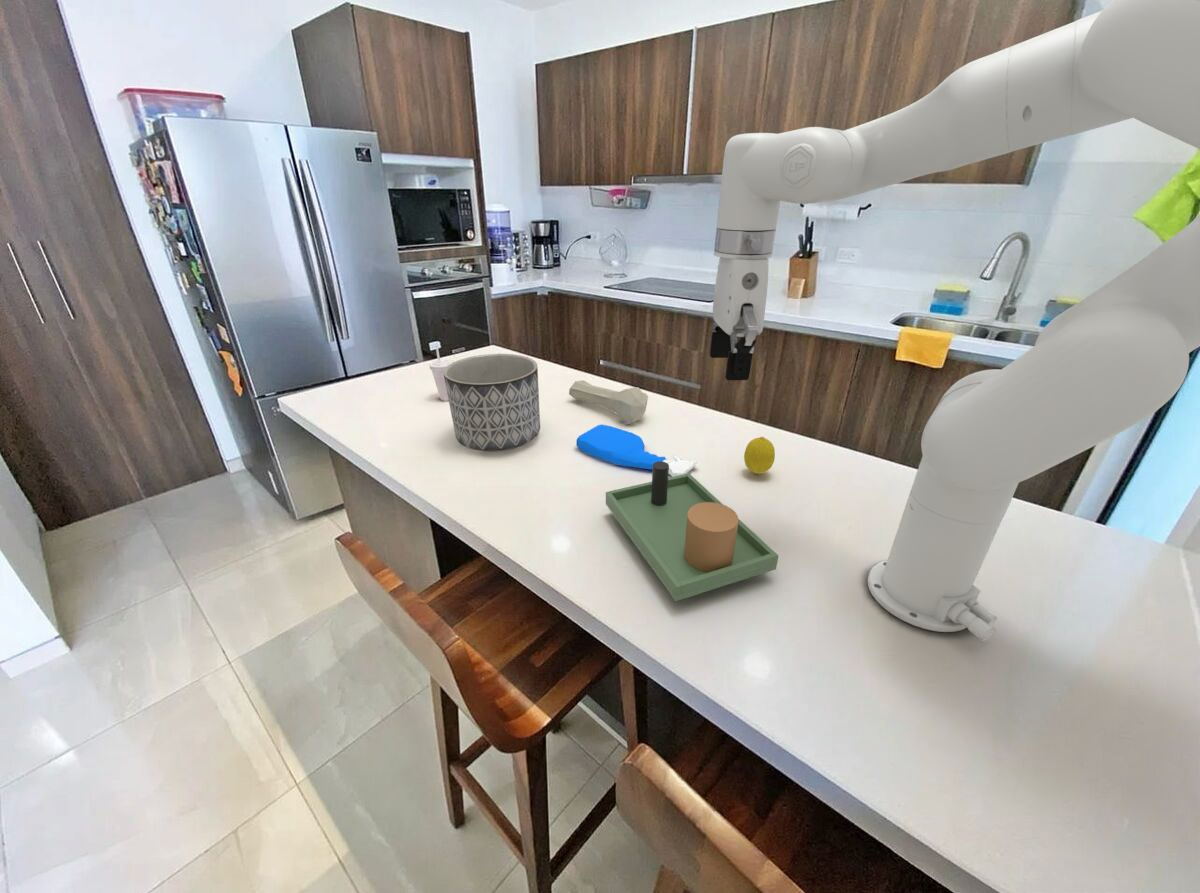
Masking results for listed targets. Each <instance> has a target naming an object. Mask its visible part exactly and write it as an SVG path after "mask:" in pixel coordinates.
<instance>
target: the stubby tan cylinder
mask: <svg viewBox="0 0 1200 893" xmlns="http://www.w3.org/2000/svg"><path fill="white" fill-rule="evenodd" d="M722 504H723V503H722ZM722 504H719V503H713V502H704V503H699V504H696V505H694V506H692V507H691V508H690V509H689V510H688V513H687V524H686V536H685V548H684V557H685V560H686V561H687V563H688V564H689V565H690V566H692V567H693V568H695V569H697V570H699V571H703V572H708V573H709V572H712V571H715V570H719V569H722V568H725V567H728V566H731V564H732V561H733V555H734V548H735V541H736V534H737V527H738V519H739V515H738V514H737V513H736V512H735V510H734V509H732V508H731V507H730V506H727V505H726V504H723V505H722Z"/></svg>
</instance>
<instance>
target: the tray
mask: <svg viewBox="0 0 1200 893" xmlns="http://www.w3.org/2000/svg"><path fill="white" fill-rule="evenodd" d="M651 470H652V472H651V481H648V482H644V483H639V484H636V485H631V486H627V487H622V488H618V489H613V490H610V491H605V505H606V507H607V509H609V511H610V512H611V513H612V515H613V516H614V518H615V520H616V521H617V522H618V524H619V525H620V526H621V528H622V529H623V530H624V532H625V533H626V535H627V536H628V537H629V539H630V540H631V541H632V543H633V545H634V546H635V547H636V548H637V550H638V551H639V553H640V554H641V555H642V558H644V559H645V561H646V562H647V564H648V565H649V567H650V568H651V570H652V571H653V572H654V574H655V575H656V576H657V578H658V579H659V581H660V582H661V583H662V585H663V586H664V587H665V589H666V590H667V592H668V593H669V594H670V596H671V597H672V598H673V600H674V601H675V602H678V601H681V600H684V599H688V598H691V597H694V596H697V595H700V594H704V593H706V592H710V591H713V590H716V589H718V588H719V589H720V588H722V587H725V586H728V585H732V584H734V583H737V582H740V581H744V580H747V579H750V578H753V577H756V576H759V575H762V574H766V573H769V572H772V571H774V570H776V569H777V565H778V560H779V554H778V553H777V552H775V551H774V550H773V549H772V548H771V546H769V545H768V544H767V543H766V542H765V541H763V540H762V539H761V538H760V537H759V536H758V535H757V534H756V533H755V532H753V530H752V529H750V528H749V527H748V526H747V525H746V524H745V523H744V522H743V521H742V520H741V519H740V518H738V527H737V534H736V541H735V548H734V555H733V561H732V564H731V566H728V567H725V568H722V569H719V570H715V571H712V572H709V573H708V572H703V571H699V570H697V569H695V568H693V567H692V566H690V565H689V564H688V563H687V561H686V560H685V557H684V548H685V536H686V524H687V513H688V510H689V509H690V508H691V507H692V506H694V505H696V504H699V503H704V502H713V503H719V504H722V505H724V504H723V503H722V502H721V500H719V499H718V498H717V497H715V495H713V493H711V492H710V491H709V490H708V489H707V488H706V487H705V486H704V485H703V484H701V482H700V481H698V480H697V479H696V478H695V477H694V476H693V475H692V474H690V472H687V473H686V474H683V475H678V476H674V477H672V476H671V477H670V476H669V475H670V474H669V465H668V463H666V462H662V461H658V462H655V463H653V469H651Z"/></svg>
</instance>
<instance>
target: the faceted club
mask: <svg viewBox="0 0 1200 893" xmlns="http://www.w3.org/2000/svg"><path fill="white" fill-rule="evenodd" d="M568 390H569V391H568V395H569V396H570V397H572V398H573V399H575V400H576V401H578V402H584V403H585V402H586V403H589V404H593V405H597V406H601V407H603V408H605V409H607V410H609V411H611V412H613V413H615V414H616V415H617V417H619V418H620V420H621V422H623V423H624V424H626V425H629V424H632V423H635V422H636V421H638V420H641V419H642V418H643V416H644V414H645V413H646V411H647V406H648V399H649V395H648V394H647V393H646V392H642V390H641V389H640V387H639V386H637V387H630V388H625V389H623V390H621V391H618V390H613V389H609V388H605V387H601V386H596V385H593V384H591V383H589V382H587V381H586V380H585V379H584V380H575V381H574V382H573V383H572V385H571V386H570V387H569V389H568Z"/></svg>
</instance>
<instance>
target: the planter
mask: <svg viewBox="0 0 1200 893" xmlns="http://www.w3.org/2000/svg"><path fill="white" fill-rule="evenodd" d="M538 368H539V367H538V363H537V362H536V360H534V359H533V358H530V357H527V356H525V355H520V354H514V353H488V354H479V355H473V356H469V357H465V358H462V359H458V360H456V361H454V363H452V364H450V365H448V366H447V367H446V368H445V369H444V372H443V374H444V379H445V384H446V389H447V394H448V399H449V400H448V405H449V410H450V413H451V418H452V426H453V429H454V435H455V438H456V440H457V441H458V443H460V444H461V445H462V446H463V447H466V448H468V449H472V450H475V451H483V452H499V451H506V450H511V449H514V448H518V447H522V446H524V445H526V444H528V443H531V441H533V440H534V439H535V438H536V437H537V436H538V435H539V434H540V430H541V414H540V413H541V412H540V392H539V370H538Z"/></svg>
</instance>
